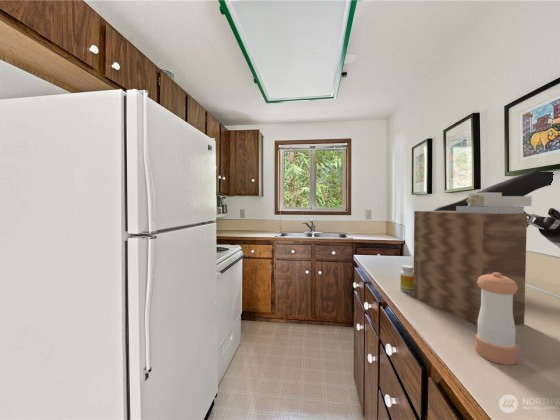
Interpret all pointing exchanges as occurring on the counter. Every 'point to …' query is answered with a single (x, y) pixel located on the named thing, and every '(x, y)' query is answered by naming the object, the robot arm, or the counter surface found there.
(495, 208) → the socket block
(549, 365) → the counter surface
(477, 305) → the walnut shelf
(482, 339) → the pepper shaker
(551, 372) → the counter surface
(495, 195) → the plug
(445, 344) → the counter surface
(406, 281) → the supplement bottle
